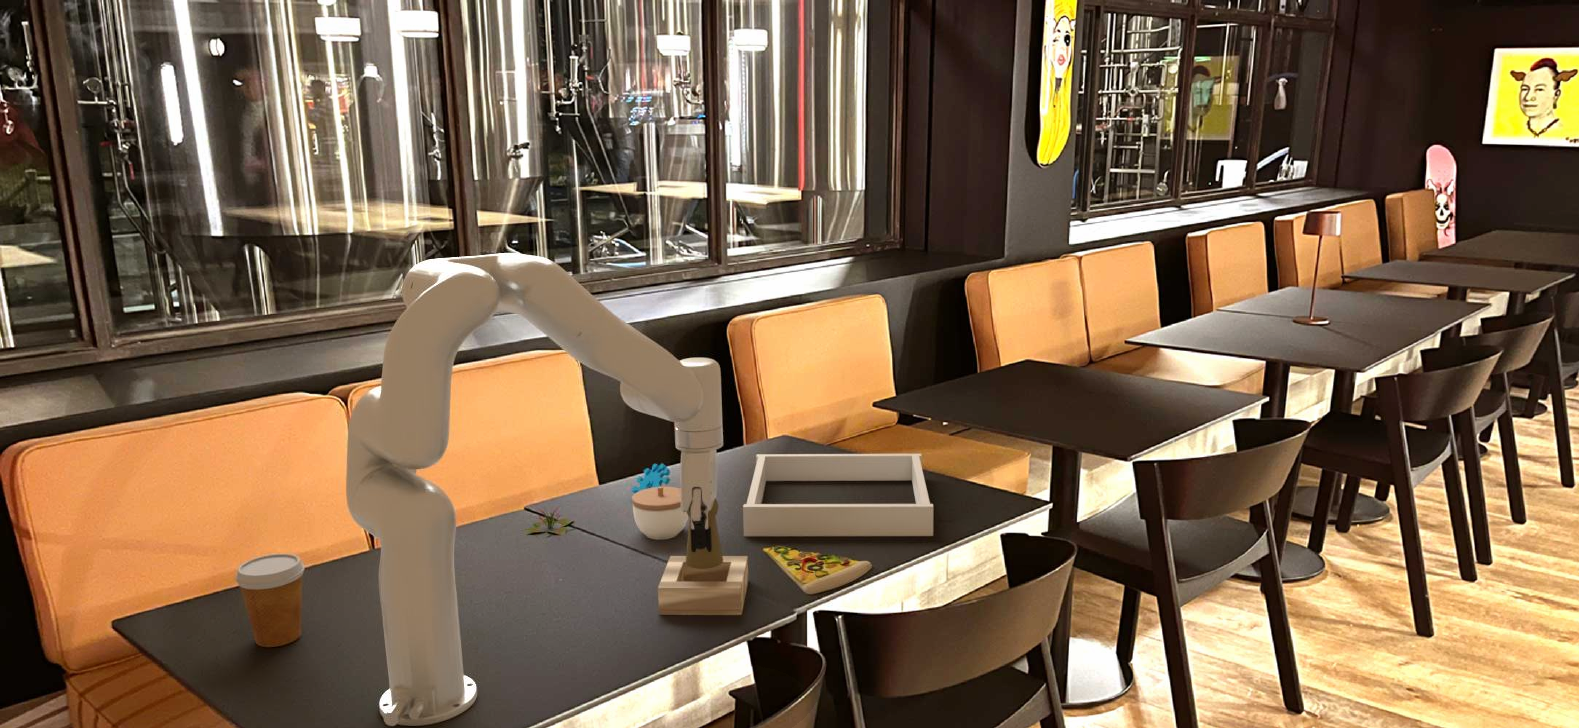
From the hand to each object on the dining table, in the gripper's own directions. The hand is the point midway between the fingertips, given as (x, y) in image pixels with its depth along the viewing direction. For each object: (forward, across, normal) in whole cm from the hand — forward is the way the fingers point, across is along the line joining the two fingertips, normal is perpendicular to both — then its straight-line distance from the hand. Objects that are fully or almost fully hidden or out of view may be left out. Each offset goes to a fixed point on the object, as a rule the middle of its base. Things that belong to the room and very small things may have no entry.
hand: (703, 545), depth 178 cm
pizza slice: (+10, -13, +16) cm, 23 cm away
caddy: (+9, 0, 0) cm, 9 cm away
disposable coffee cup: (+9, +15, -64) cm, 66 cm away
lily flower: (+10, -31, -34) cm, 47 cm away
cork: (+3, 0, 0) cm, 3 cm away
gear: (+10, -44, -18) cm, 48 cm away
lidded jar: (+9, -28, -12) cm, 32 cm away
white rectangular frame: (+9, -43, +21) cm, 49 cm away
